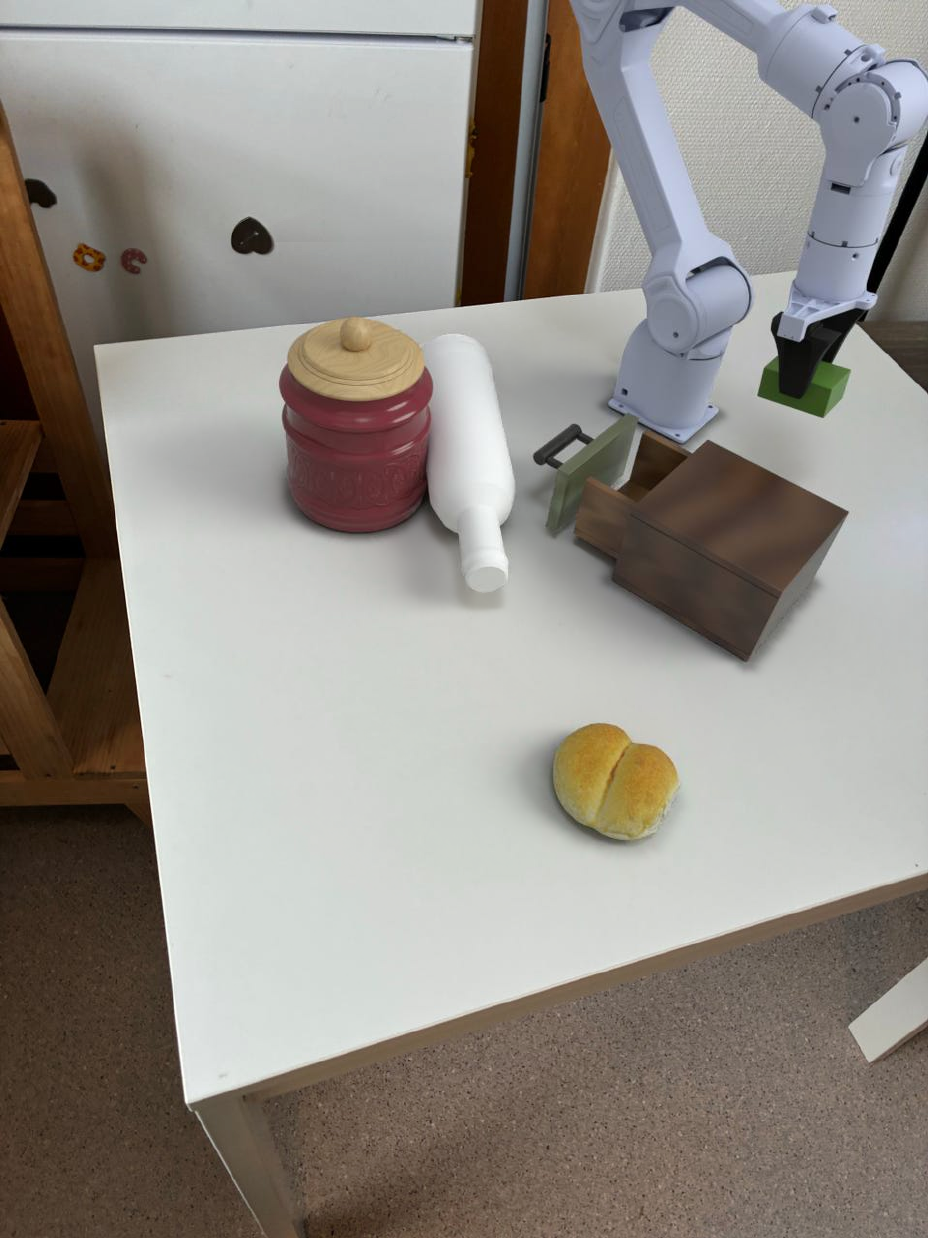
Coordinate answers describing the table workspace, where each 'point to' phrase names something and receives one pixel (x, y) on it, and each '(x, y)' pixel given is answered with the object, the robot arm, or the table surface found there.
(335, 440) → the kitchen canister
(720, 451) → the cabinet
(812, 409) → the green block
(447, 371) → the bottle
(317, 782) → the table surface
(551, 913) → the table surface
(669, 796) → the bread roll
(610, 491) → the drawer
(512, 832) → the table surface
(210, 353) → the table surface
